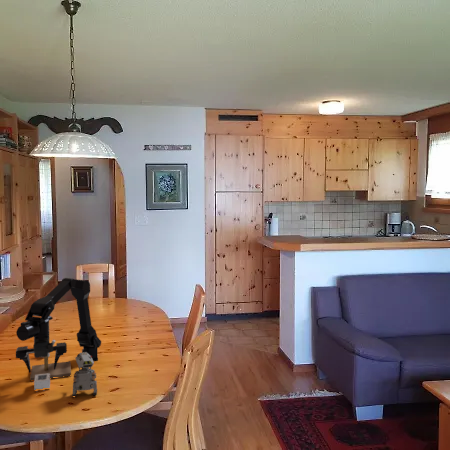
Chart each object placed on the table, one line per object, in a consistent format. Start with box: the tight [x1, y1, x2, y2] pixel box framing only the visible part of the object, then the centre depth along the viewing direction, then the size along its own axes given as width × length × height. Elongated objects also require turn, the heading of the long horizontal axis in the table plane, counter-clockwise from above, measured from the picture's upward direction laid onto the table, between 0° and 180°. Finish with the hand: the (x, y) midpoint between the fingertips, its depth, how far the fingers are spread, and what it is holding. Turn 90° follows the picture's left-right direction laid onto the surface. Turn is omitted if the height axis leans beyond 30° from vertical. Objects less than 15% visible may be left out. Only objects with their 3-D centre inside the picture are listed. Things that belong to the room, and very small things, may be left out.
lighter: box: [48, 339, 57, 358], centre depth 208 cm, size 7×2×8 cm, turn 99°
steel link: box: [33, 373, 51, 390], centre depth 175 cm, size 6×7×4 cm
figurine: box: [71, 352, 98, 397], centre depth 170 cm, size 9×12×15 cm
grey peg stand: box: [29, 356, 72, 381], centre depth 189 cm, size 16×14×8 cm
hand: (42, 370), depth 175 cm, fingers open, 9 cm apart
